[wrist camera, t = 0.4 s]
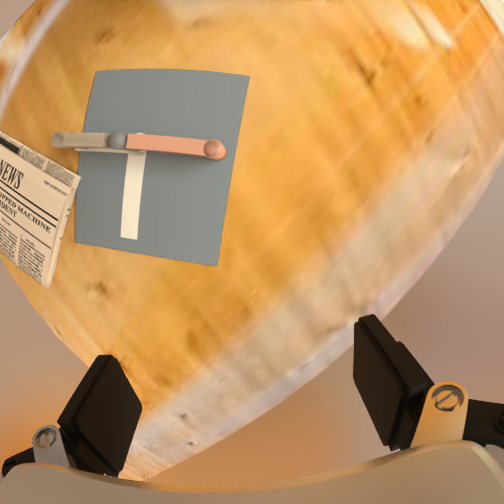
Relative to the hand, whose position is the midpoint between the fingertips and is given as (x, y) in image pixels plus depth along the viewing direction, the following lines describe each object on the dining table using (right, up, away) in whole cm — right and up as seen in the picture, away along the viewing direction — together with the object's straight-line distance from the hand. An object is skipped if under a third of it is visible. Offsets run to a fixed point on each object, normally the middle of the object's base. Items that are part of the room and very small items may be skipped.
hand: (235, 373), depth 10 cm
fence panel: (-9, +18, +23) cm, 31 cm away
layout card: (-13, +17, +24) cm, 32 cm away
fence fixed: (-20, +19, +23) cm, 36 cm away
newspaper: (-45, +16, +24) cm, 53 cm away
